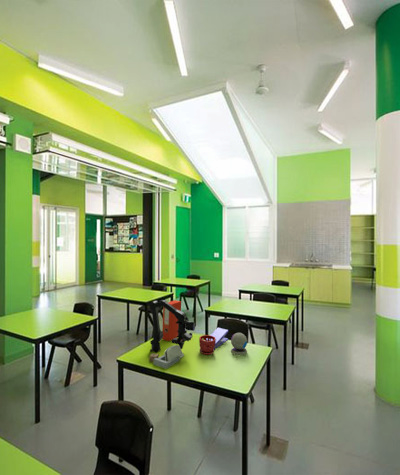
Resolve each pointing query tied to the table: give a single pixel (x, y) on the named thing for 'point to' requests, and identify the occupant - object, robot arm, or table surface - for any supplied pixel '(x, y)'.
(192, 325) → the robot arm
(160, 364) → the channel jig
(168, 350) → the hinge
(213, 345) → the plant pot
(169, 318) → the file binder
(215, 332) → the stapler
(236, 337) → the webcam
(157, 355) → the spacer block
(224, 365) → the table surface
